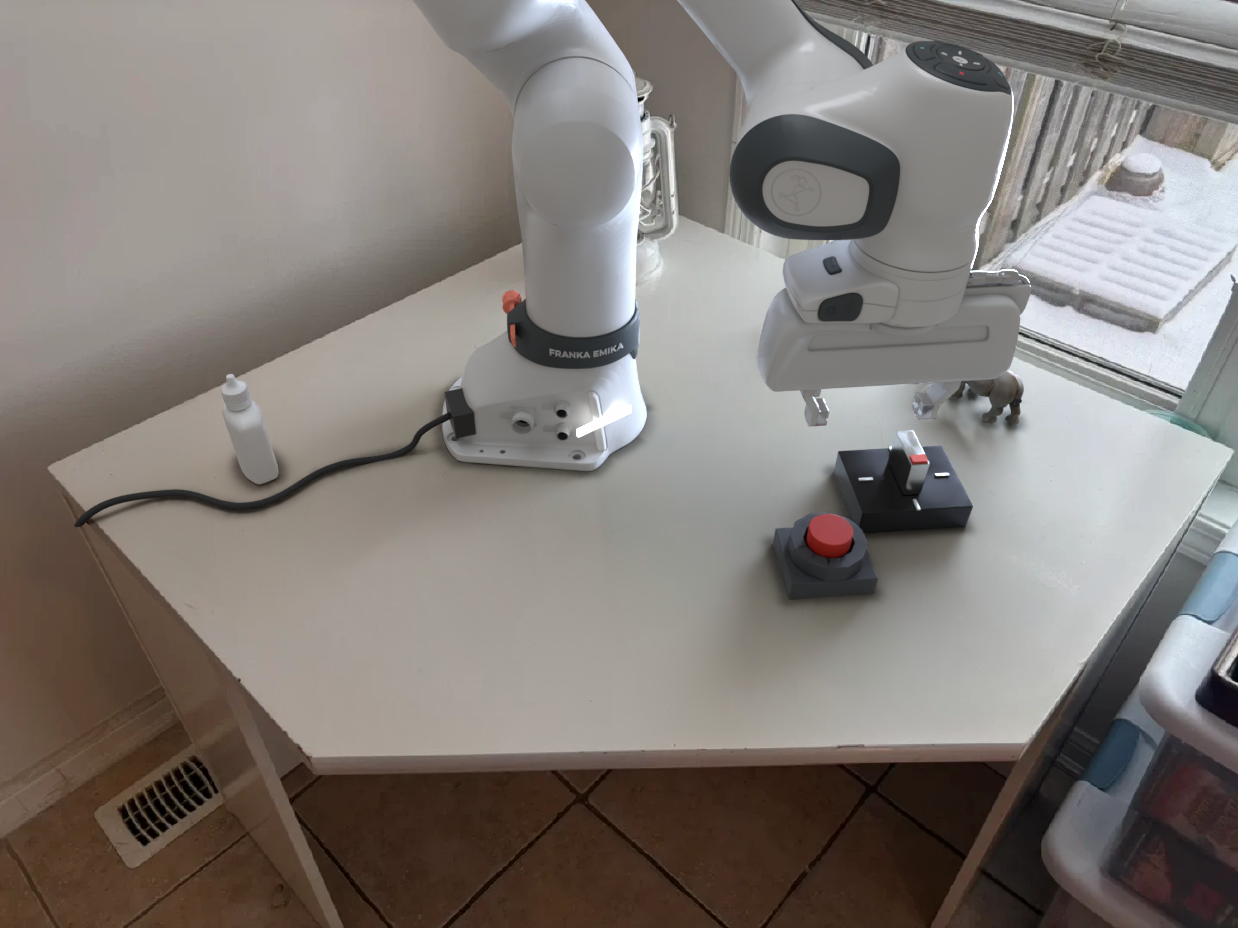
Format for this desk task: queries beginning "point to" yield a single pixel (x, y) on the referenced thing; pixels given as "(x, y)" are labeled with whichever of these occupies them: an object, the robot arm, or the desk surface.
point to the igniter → (822, 564)
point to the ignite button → (829, 535)
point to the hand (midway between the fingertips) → (869, 418)
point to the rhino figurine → (997, 395)
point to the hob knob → (908, 462)
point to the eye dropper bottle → (248, 432)
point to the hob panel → (900, 493)
